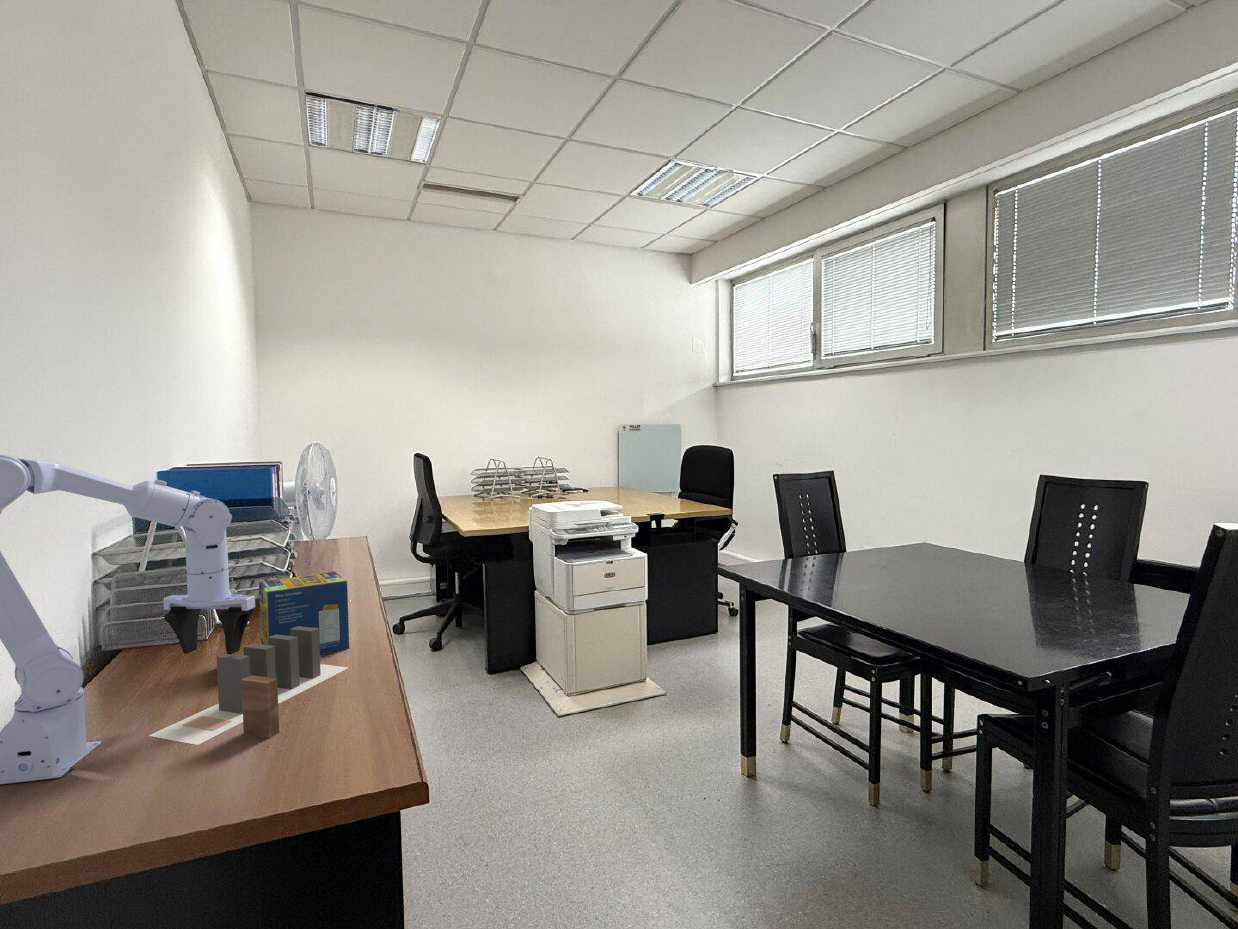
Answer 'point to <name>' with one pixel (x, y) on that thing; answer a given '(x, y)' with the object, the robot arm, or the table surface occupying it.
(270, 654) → the domino
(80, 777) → the table surface
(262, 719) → the domino
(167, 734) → the board
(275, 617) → the protein box
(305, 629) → the domino
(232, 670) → the domino
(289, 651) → the domino
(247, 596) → the robot arm
